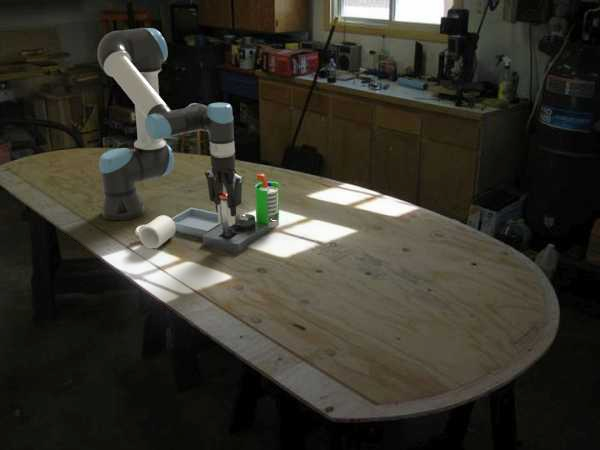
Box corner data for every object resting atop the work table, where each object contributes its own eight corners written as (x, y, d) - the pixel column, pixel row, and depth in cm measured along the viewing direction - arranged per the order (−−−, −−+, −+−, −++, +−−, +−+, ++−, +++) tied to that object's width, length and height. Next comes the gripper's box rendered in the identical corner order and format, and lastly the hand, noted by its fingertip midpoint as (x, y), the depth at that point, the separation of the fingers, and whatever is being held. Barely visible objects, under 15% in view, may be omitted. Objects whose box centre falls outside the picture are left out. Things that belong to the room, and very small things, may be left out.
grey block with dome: (203, 244, 198) (201, 225, 195) (234, 224, 212) (233, 207, 210) (238, 252, 192) (237, 234, 189) (268, 231, 206) (267, 214, 204)
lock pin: (219, 235, 197) (216, 195, 191) (226, 230, 200) (223, 191, 194) (229, 238, 195) (226, 197, 189) (236, 233, 198) (233, 193, 192)
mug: (177, 238, 203) (174, 216, 200) (161, 250, 194) (159, 228, 191) (146, 233, 207) (143, 212, 203) (129, 246, 198) (126, 223, 195)
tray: (166, 229, 210) (165, 221, 209) (191, 214, 221) (191, 207, 220) (208, 239, 202) (207, 230, 201) (232, 223, 213) (231, 216, 212)
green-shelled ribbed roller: (275, 229, 208) (274, 180, 201) (253, 228, 210) (250, 179, 202) (281, 219, 216) (280, 171, 209) (260, 217, 218) (257, 170, 210)
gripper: (194, 153, 187) (199, 222, 197) (237, 161, 180) (241, 232, 189) (208, 147, 193) (213, 214, 203) (251, 154, 186) (254, 223, 195)
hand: (226, 223), depth 196 cm, fingers closed on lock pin, 3 cm apart
